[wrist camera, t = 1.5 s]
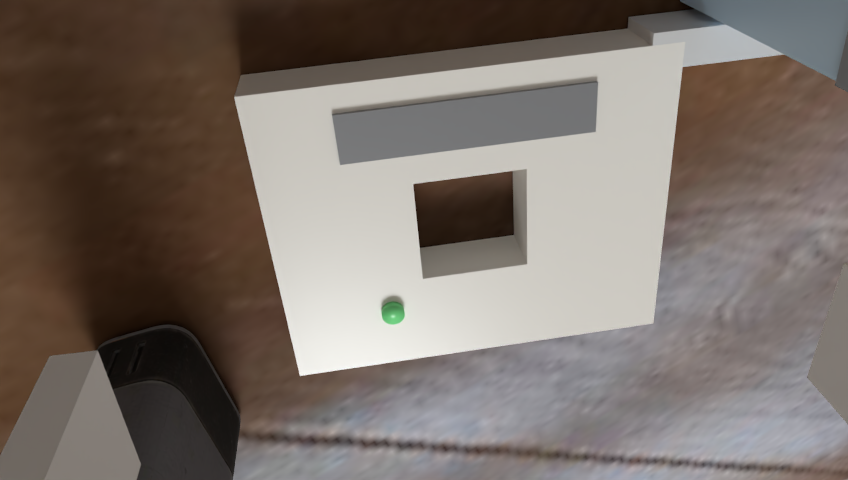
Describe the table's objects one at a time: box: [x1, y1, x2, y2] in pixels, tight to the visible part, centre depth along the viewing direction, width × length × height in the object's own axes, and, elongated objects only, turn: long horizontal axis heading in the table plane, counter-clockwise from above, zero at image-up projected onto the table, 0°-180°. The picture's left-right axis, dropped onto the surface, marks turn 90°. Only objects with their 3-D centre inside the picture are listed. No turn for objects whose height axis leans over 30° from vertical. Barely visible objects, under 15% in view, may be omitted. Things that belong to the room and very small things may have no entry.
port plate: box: [234, 29, 685, 376], centre depth 36 cm, size 16×20×3 cm
